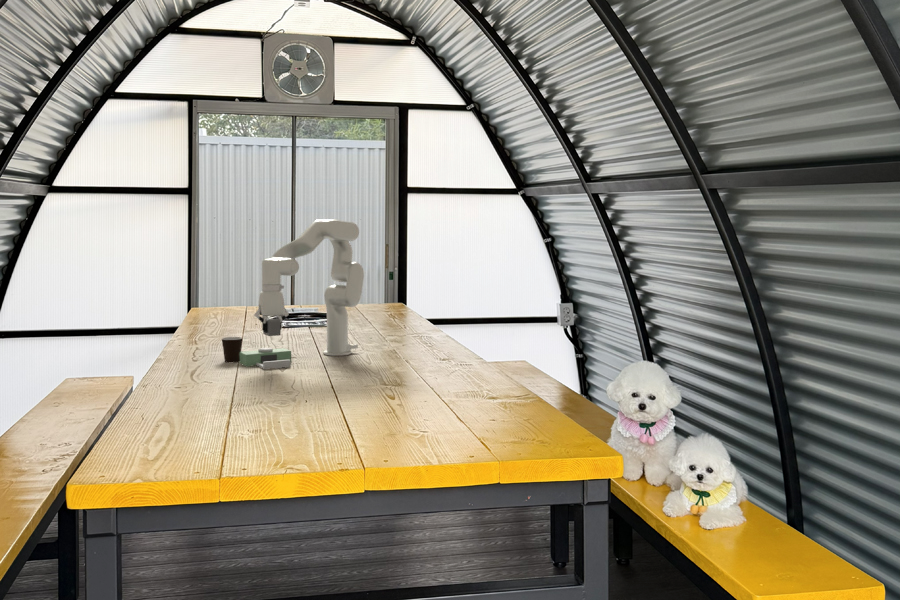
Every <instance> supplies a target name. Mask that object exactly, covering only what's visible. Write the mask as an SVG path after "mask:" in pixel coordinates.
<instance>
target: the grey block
mask: <svg viewBox="0 0 900 600" xmlns="http://www.w3.org/2000/svg"><path fill="white" fill-rule="evenodd" d="M266 323H267V333H265V332H263V331H262V332H263V335H265V336H267V337H273V336H274V337H275V336H276V337H278V336H281V335H282V334H281V332H282V331H280V319H277V318H267V321H266Z"/></svg>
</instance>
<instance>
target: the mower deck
mask: <svg viewBox="0 0 900 600" xmlns="http://www.w3.org/2000/svg"><path fill="white" fill-rule="evenodd" d="M240 363H241V364H240ZM291 363H292V350H290V349H287V348H285V347H282V348H272V347H261V348H258V349H257V350H246V351H241V352H240V361H239V364H240V365H242V364H243V365H242V366H244V365H245V367H252V366H251V365H257V366H256V367H258V366H259V367H258V368H260V367H261V368H260V369H262V368H263V369H262V370H270V369H269V368H275V369H283V368H282V367H285V368H291Z"/></svg>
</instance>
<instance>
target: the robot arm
mask: <svg viewBox="0 0 900 600" xmlns="http://www.w3.org/2000/svg"><path fill="white" fill-rule="evenodd" d="M359 235H360V229H359V226H358V225H357V224H356V223H354V222H352V221H345V220H339V219H330V218H329V219H325V218H323V219H320V218H319V219H316V220H314V221H312V223H311V224H310V225H308V227H307V228H306V229H305V230H304V231H303V232H302V233H301V234H300V235H299V236H298V238H296V239H295V240H292V241H290V242H289V243H287V244H285V245H283V246H281V248H279V249H278V250H276V251H275V253H274V254H273V255H271V257H270V258H265V259H264V258H263V260H262V261H261V283H262V284H261V285H262V286H261V287H262V288H261V290H262V291H260V292H259V297H258V306H257V307H258V309H257V310H256V312H255V313H254V314H253V316H254V317H255V318H256V319H257V320H259V321H260V323H262V324H261V327H262V329H261V330H262V332H265V333H267V323H266V321H267V319H268V317H276V319H280V331H281V330H282V323H283V321H284V320H285V319H286V318H287V317H288V316H289V314H290V313H289V311H288V310H287V309H286V308H285V300H284V294H283V291H282V290H283V289H284V288H285V285H282V283H281V281H282V279H281V277H282V276H286V277H291V276H294V275H296V274H297V273H298V272H299V270H300V265H299V262H298V261H297V260H296V259H297V258H300V257H304V256H307V255H309V254H311V253H313V252H314V251H315V249H317V247H318V246H319V245H320V244H321V243H322V242H323V241H324V240H325V239H327V240H329V241H330V243H331V245H332V249H333V255H332V256H333V257H332V263H331V270H330V277H331V279H332V280H333V281H334V282H337V283H345V285H344V284H343V285H342V284H331V285H329V286H327V287H326V289H325V290H324V294H323V298H324V303H325V310H326V349H325V350H323V354H324V355H325V356H334V357H337V356H338V357H339V356H348V355H351V354H352V349H358V347H359V345H358V344H351V343H349V329H348V327H349V323H348V321H349V317H348V311H347V308H354V307H357V306H358V305H359V303H360V301H361V298H362V293H363V286H364V277H365V272H364V267H363V266H362V265H361V263H359V262H356V261H353V248H352V245H351V243H350V242H353V241H356V240H357V239H358V237H359ZM281 332H282V331H281Z"/></svg>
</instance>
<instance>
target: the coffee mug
mask: <svg viewBox="0 0 900 600" xmlns="http://www.w3.org/2000/svg"><path fill="white" fill-rule="evenodd" d="M221 343H222V352H223V359H224V363H229V362H233V363H239V362H240V352H242V347H243V346H242V345H243V337H241V336H227V337H222V338H221ZM238 361H239V362H238Z"/></svg>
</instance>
